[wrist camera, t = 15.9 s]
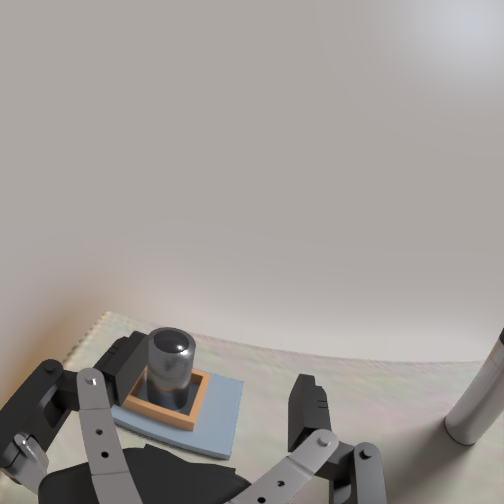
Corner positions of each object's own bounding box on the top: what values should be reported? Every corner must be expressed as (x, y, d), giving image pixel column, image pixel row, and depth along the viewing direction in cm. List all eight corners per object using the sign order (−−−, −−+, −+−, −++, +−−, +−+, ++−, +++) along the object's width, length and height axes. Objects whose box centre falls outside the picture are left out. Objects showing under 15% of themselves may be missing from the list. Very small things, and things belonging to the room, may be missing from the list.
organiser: (241, 386, 36) (246, 372, 35) (228, 460, 23) (233, 448, 22) (126, 350, 36) (125, 335, 35) (83, 406, 24) (79, 391, 23)
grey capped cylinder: (179, 378, 33) (185, 324, 30) (194, 407, 29) (203, 353, 26) (142, 383, 30) (142, 327, 27) (153, 414, 26) (154, 359, 23)
